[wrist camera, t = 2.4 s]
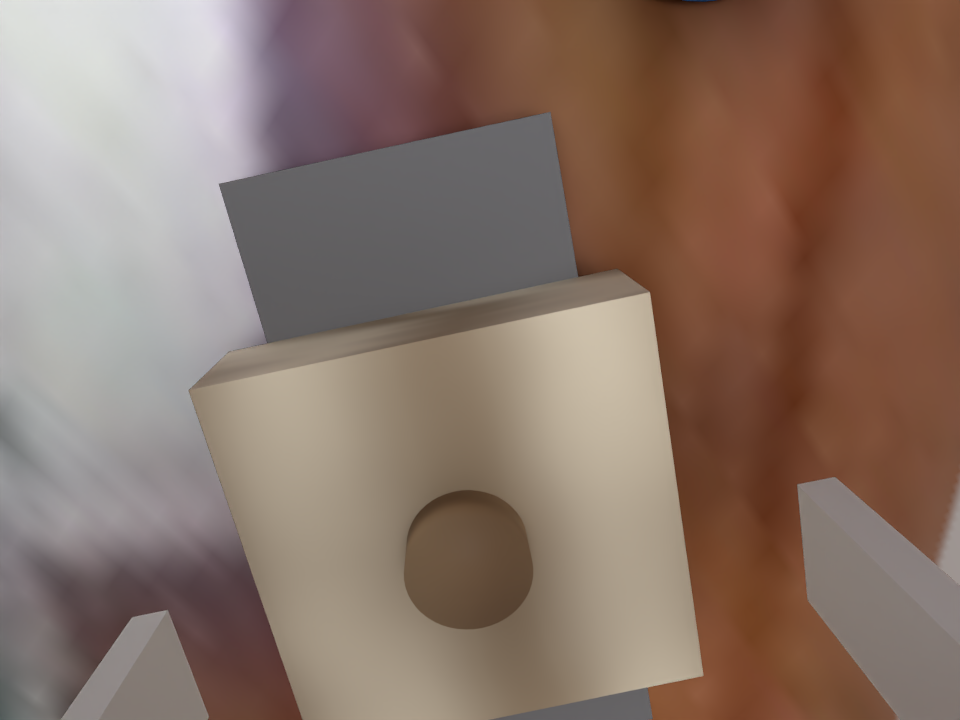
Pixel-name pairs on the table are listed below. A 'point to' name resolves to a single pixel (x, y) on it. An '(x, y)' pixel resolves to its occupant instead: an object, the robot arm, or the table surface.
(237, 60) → the table surface
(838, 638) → the robot arm
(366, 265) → the gray rectangular block
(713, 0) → the beverage can
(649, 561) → the lid
